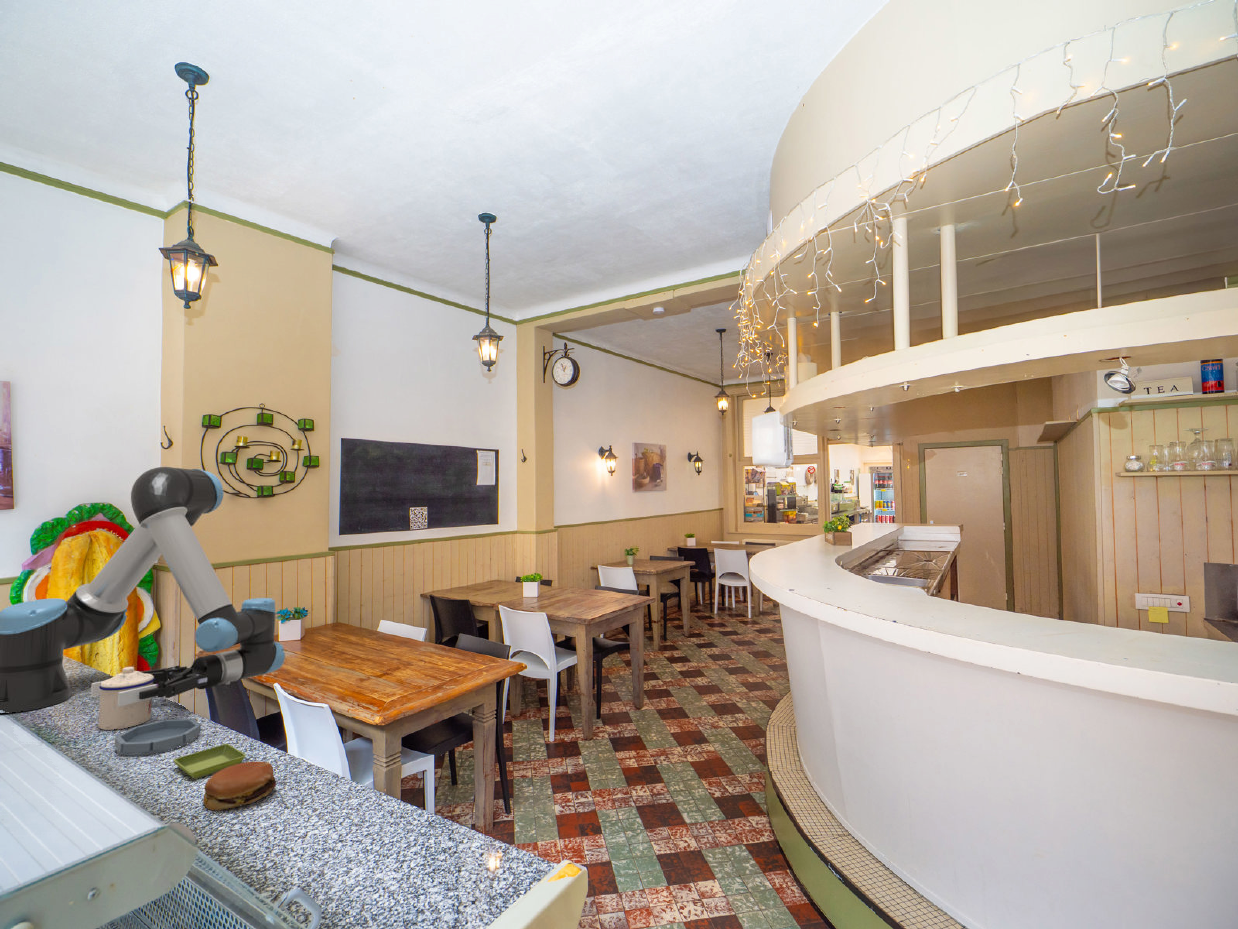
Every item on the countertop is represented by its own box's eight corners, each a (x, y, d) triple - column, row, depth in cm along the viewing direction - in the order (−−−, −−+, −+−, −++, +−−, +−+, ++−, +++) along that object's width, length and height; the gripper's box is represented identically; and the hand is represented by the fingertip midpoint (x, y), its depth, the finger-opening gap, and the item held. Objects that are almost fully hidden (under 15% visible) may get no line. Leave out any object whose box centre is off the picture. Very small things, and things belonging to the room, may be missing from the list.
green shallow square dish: (246, 766, 106) (247, 755, 106) (189, 785, 99) (190, 773, 99) (227, 754, 111) (227, 743, 111) (171, 771, 104) (172, 759, 104)
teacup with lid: (161, 719, 128) (164, 665, 129) (110, 734, 120) (113, 675, 121) (131, 711, 133) (134, 658, 134) (81, 724, 125) (84, 668, 126)
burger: (188, 806, 91) (190, 775, 92) (245, 780, 100) (246, 752, 101) (234, 818, 88) (235, 786, 88) (288, 790, 97) (289, 761, 97)
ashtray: (109, 744, 115) (110, 732, 115) (186, 726, 124) (187, 714, 125) (125, 762, 107) (126, 749, 107) (206, 741, 116) (207, 729, 117)
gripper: (243, 693, 137) (130, 723, 118) (189, 678, 149) (79, 703, 130) (244, 660, 138) (133, 685, 119) (190, 648, 149) (81, 668, 130)
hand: (104, 694), depth 124 cm, fingers closed on teacup with lid, 12 cm apart
